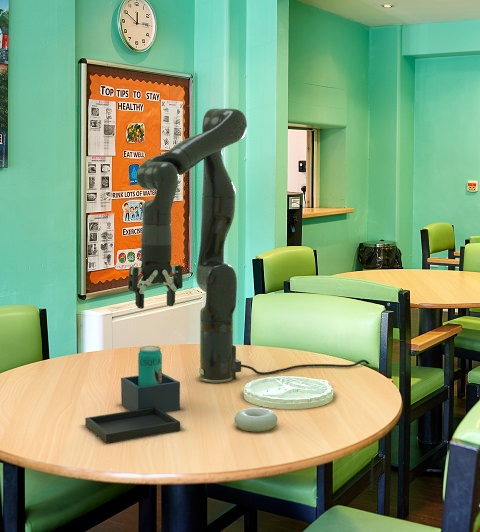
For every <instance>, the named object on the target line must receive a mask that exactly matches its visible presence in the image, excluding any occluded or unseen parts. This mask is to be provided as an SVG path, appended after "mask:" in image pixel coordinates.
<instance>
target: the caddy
mask: <svg viewBox="0 0 480 532" xmlns="http://www.w3.org/2000/svg"><path fill="white" fill-rule="evenodd" d="M120 400H121V401H120V405H121V406H122V407H123V408H125V409H126V410H127V411H132V410H138V409H145V408H151V407H157V408H159V409H160V410H162V411H164V412H165V413H168V412H175V411H181V382H180V381H178V380H177V379H175V378H173V377H171V376H169V375H167V374H165V373H164V372H162V384H157V385H150V386H143V387H139V382H138V375H132V376H125V377H124V376H123V377H121V378H120Z"/></svg>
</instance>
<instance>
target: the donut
mask: <svg viewBox="0 0 480 532" xmlns="http://www.w3.org/2000/svg"><path fill="white" fill-rule="evenodd" d="M233 421H234V424H235V425H236V427H237V428H239V429H241V430H243V431H247V432H265V431H269V430H272V429H273V428H275V427H276V426H277V424H278V415H277V414H276V413H275V412H274V411H273V410H270V409H267V408H262V407H248V408H244V409H241V410H239V411H238V412H236V414H235V415H234V419H233Z"/></svg>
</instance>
